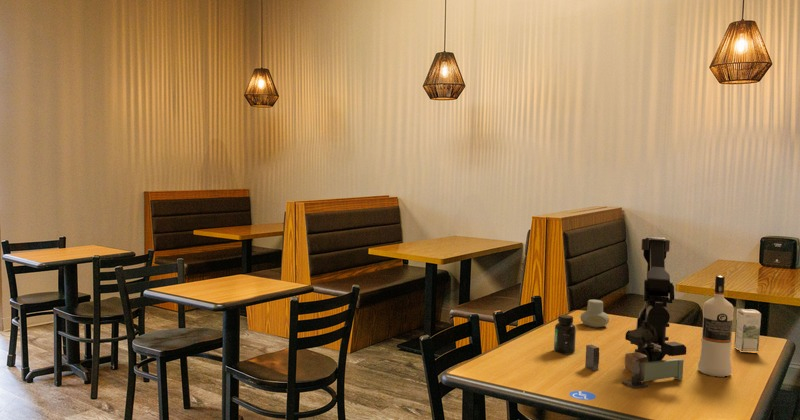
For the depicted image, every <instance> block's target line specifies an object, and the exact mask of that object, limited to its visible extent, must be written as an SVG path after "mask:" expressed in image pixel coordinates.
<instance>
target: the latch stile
mask: <svg viewBox="0 0 800 420" xmlns="http://www.w3.org/2000/svg"><path fill="white" fill-rule="evenodd" d="M599 364H600V347H598V346H596V345H593V344H586V346H585V366H584V367H585V368H586V369H588V370H590V371H593V372H594V371H595V372H596V371H599Z"/></svg>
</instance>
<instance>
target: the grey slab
mask: <svg viewBox="0 0 800 420" xmlns="http://www.w3.org/2000/svg"><path fill="white" fill-rule="evenodd" d="M683 374H684V359H682V358H679V357H678V358H677V357H676V358H671V359H662V361H653V362H645V363H640V374H639V381H641V382H643V383H644V382H648V381H656V380H665V379H671V378H673V379H676V380H678V381H679V380H683V378H684V377H683Z"/></svg>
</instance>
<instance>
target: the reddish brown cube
mask: <svg viewBox="0 0 800 420" xmlns="http://www.w3.org/2000/svg"><path fill="white" fill-rule="evenodd" d="M633 360H639V361H640V363H645V362H648V359H647V356H646V355H645V354H642V353H639V352H637V351H635V352H627V353H625V357H624V361H625V362H624V370H626V371H628V372H630V373H632V364H633Z"/></svg>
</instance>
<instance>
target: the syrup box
mask: <svg viewBox="0 0 800 420" xmlns="http://www.w3.org/2000/svg"><path fill="white" fill-rule="evenodd" d="M761 321H762V313H761V312H760V311H758V310H757V309H752V308H749V309H748V308H746V309H745V308H737V309H736V317H735V331H734V332H735V333H734V334H735V335H734V344H733V348H734V347H736V348H738V349H739V350H741V351H758V352H759V347H760V346H759V344H760V334H761V332H760V331H761Z"/></svg>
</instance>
